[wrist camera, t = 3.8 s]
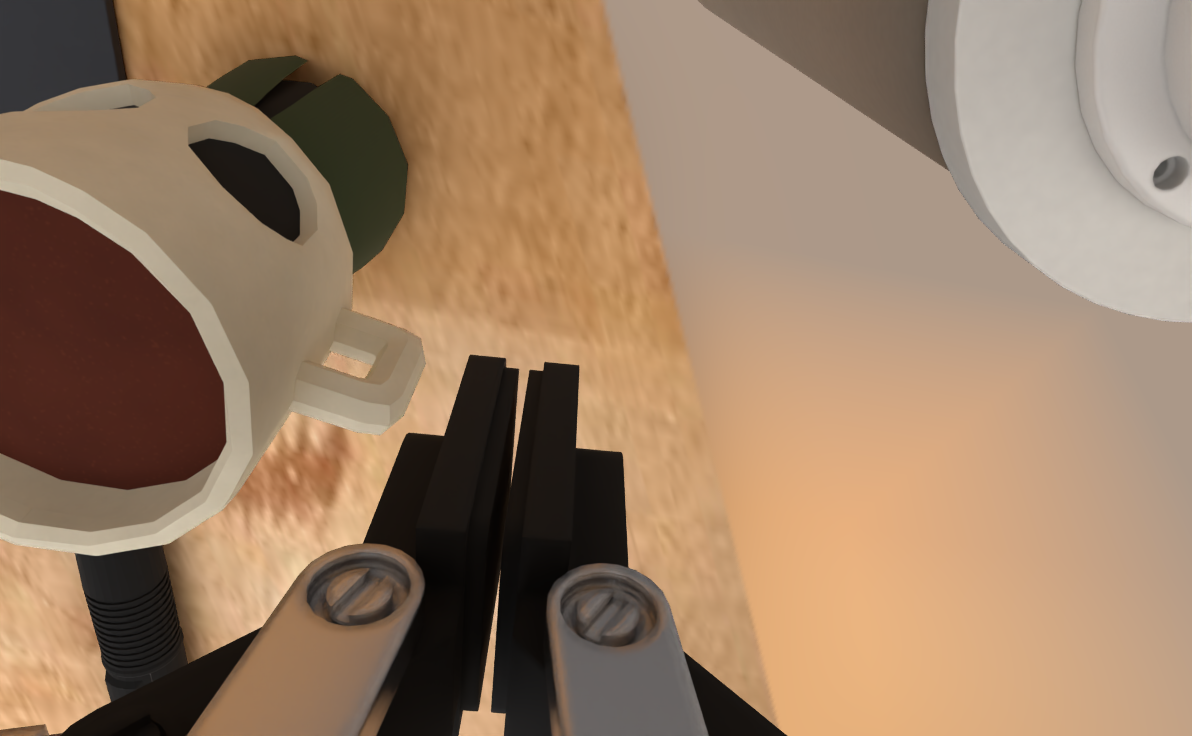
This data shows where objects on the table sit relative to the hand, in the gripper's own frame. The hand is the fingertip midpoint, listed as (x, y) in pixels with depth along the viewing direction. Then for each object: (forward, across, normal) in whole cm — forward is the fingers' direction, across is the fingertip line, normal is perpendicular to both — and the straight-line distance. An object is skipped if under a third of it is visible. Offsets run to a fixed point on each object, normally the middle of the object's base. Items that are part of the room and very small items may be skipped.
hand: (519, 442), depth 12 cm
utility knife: (+14, +16, +23) cm, 31 cm away
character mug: (+13, +8, 0) cm, 15 cm away
